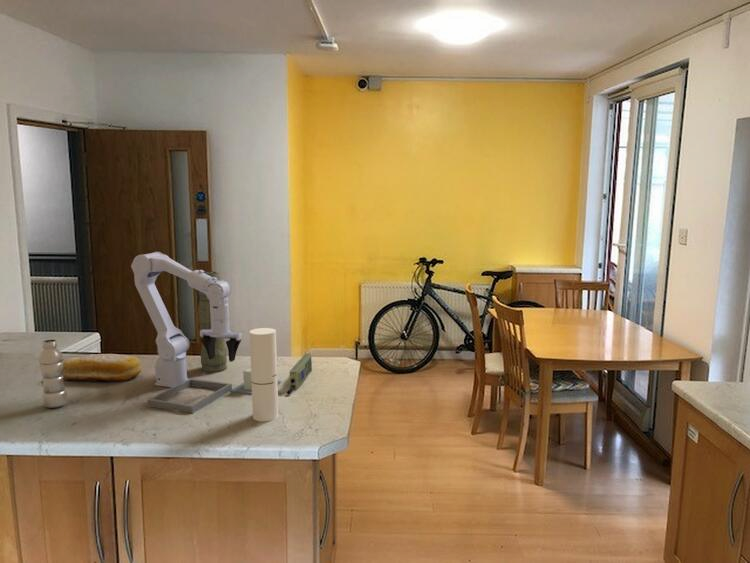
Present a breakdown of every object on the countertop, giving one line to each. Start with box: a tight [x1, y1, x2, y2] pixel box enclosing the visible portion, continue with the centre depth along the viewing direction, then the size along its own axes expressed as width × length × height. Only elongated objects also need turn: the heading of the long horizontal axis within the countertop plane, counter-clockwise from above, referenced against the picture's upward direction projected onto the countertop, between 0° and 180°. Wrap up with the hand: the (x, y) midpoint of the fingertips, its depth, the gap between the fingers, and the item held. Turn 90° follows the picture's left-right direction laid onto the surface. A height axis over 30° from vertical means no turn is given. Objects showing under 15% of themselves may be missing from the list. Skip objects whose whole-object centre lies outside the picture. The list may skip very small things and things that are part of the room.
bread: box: [63, 353, 142, 383], centre depth 193 cm, size 13×26×8 cm, turn 86°
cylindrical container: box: [249, 327, 279, 423], centre depth 159 cm, size 7×7×25 cm
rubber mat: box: [230, 379, 282, 396], centre depth 184 cm, size 11×13×1 cm
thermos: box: [195, 271, 228, 374], centre depth 199 cm, size 9×12×35 cm
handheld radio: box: [286, 353, 313, 396], centre depth 188 cm, size 7×3×25 cm
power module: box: [242, 366, 252, 390], centre depth 184 cm, size 4×8×7 cm, turn 161°
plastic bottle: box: [38, 339, 68, 409], centre depth 167 cm, size 6×7×20 cm
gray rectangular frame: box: [147, 377, 233, 414], centre depth 175 cm, size 16×20×2 cm
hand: (221, 359), depth 182 cm, fingers open, 7 cm apart
